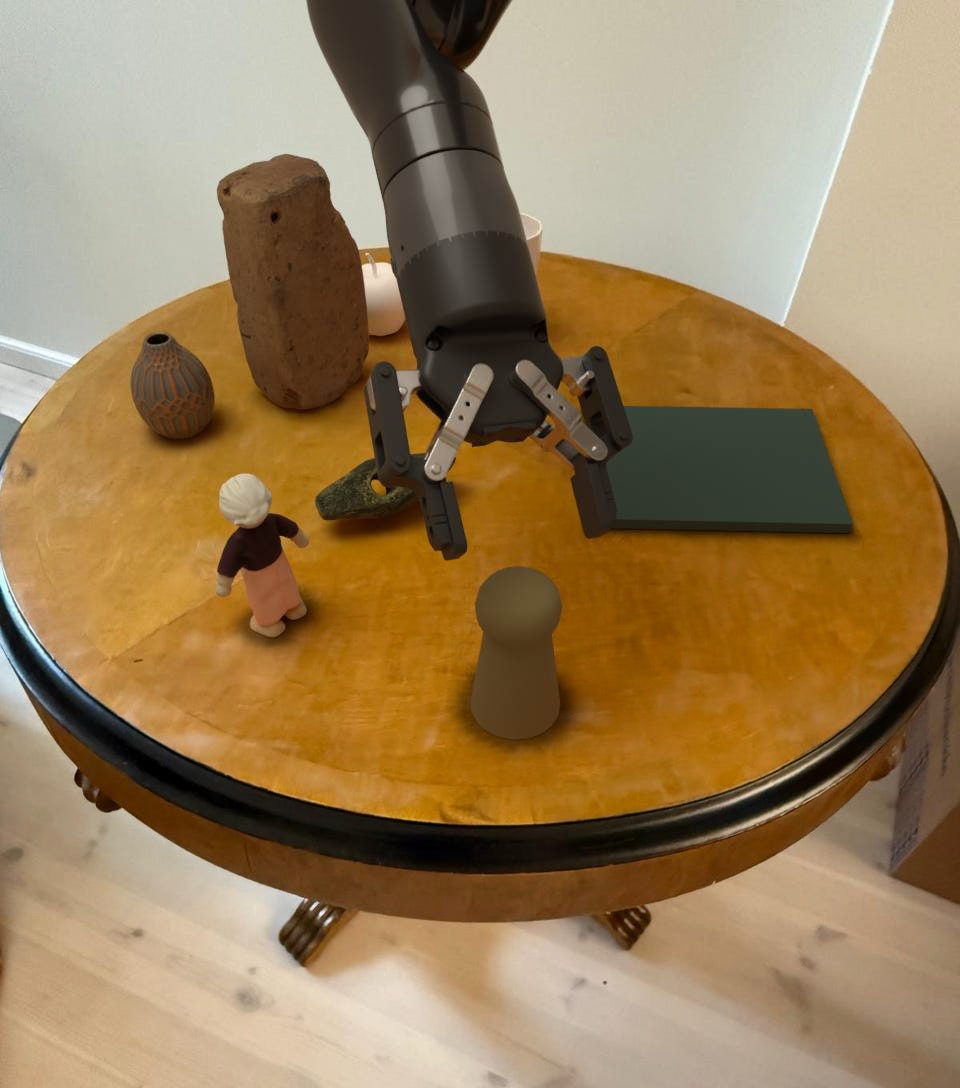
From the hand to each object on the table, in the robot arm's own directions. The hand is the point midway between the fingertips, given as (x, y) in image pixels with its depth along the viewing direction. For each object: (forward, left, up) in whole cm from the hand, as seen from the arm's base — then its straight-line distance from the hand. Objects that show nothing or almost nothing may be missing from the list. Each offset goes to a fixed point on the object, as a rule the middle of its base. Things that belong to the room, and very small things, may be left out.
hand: (530, 545), depth 50 cm
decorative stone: (+11, -22, -16) cm, 29 cm away
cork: (0, -2, -16) cm, 16 cm away
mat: (-16, -28, -16) cm, 35 cm away
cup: (+2, -50, -16) cm, 52 cm away
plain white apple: (+15, -51, -16) cm, 55 cm away
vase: (+31, -33, -16) cm, 48 cm away
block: (+20, -40, -16) cm, 47 cm away
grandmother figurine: (+18, -9, -16) cm, 26 cm away
